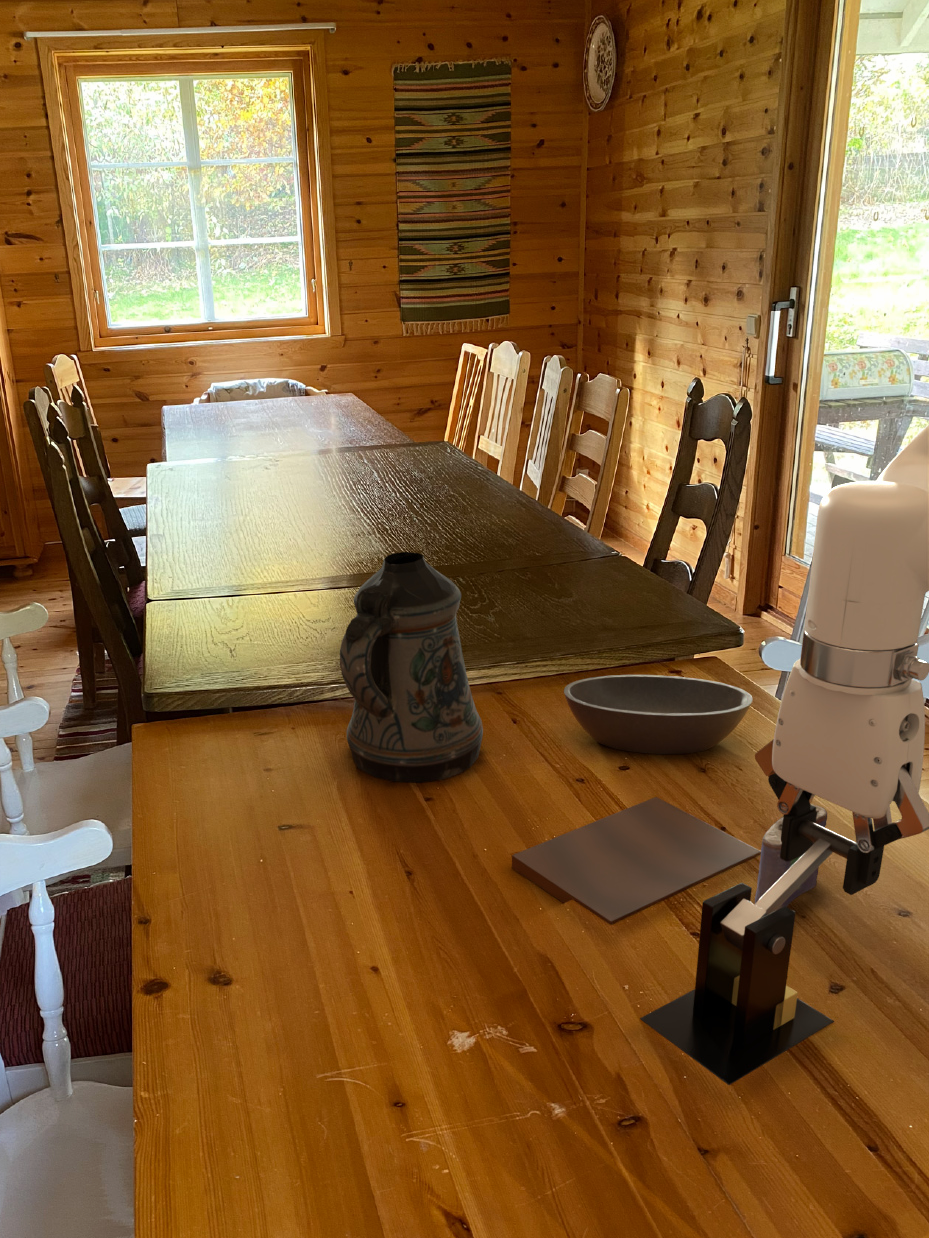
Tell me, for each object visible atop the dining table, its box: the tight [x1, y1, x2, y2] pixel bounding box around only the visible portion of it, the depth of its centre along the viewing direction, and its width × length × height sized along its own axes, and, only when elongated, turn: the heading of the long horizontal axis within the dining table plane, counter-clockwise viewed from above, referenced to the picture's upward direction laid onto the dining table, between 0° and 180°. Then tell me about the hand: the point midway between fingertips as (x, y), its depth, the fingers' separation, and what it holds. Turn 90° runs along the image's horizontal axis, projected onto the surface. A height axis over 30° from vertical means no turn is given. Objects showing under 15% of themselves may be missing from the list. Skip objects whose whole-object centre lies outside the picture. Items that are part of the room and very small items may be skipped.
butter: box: [732, 975, 799, 1030], centre depth 87 cm, size 3×5×2 cm, turn 32°
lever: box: [720, 820, 857, 950], centre depth 84 cm, size 12×5×2 cm, turn 122°
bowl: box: [563, 674, 753, 755], centre depth 134 cm, size 12×22×6 cm, turn 78°
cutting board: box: [511, 796, 761, 926], centre depth 109 cm, size 20×14×2 cm
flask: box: [754, 803, 828, 910], centre depth 100 cm, size 9×3×11 cm, turn 133°
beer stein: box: [339, 551, 484, 784], centre depth 129 cm, size 16×19×25 cm
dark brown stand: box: [639, 882, 835, 1086], centre depth 85 cm, size 12×9×12 cm
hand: (826, 869), depth 87 cm, fingers closed on lever, 5 cm apart
